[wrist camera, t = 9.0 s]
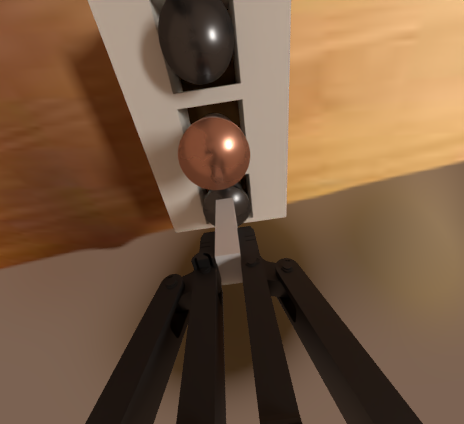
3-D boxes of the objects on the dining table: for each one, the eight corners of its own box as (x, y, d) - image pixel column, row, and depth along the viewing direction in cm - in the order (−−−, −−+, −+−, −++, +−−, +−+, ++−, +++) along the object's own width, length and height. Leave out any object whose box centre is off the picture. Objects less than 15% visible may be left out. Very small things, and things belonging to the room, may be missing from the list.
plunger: (210, 201, 24) (208, 231, 19) (202, 167, 22) (198, 192, 17) (245, 196, 24) (252, 225, 19) (241, 162, 22) (248, 184, 17)
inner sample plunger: (184, 87, 18) (171, 89, 13) (169, 21, 15) (146, -8, 10) (232, 79, 18) (238, 78, 13) (225, 11, 15) (228, -22, 10)
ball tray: (274, 194, 25) (286, 216, 21) (182, 208, 26) (175, 232, 21) (271, -8, 15) (292, -42, 11) (121, 17, 16) (85, -6, 11)
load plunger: (196, 164, 18) (188, 194, 13) (183, 112, 16) (168, 125, 11) (243, 157, 18) (253, 184, 13) (238, 103, 16) (246, 112, 11)
